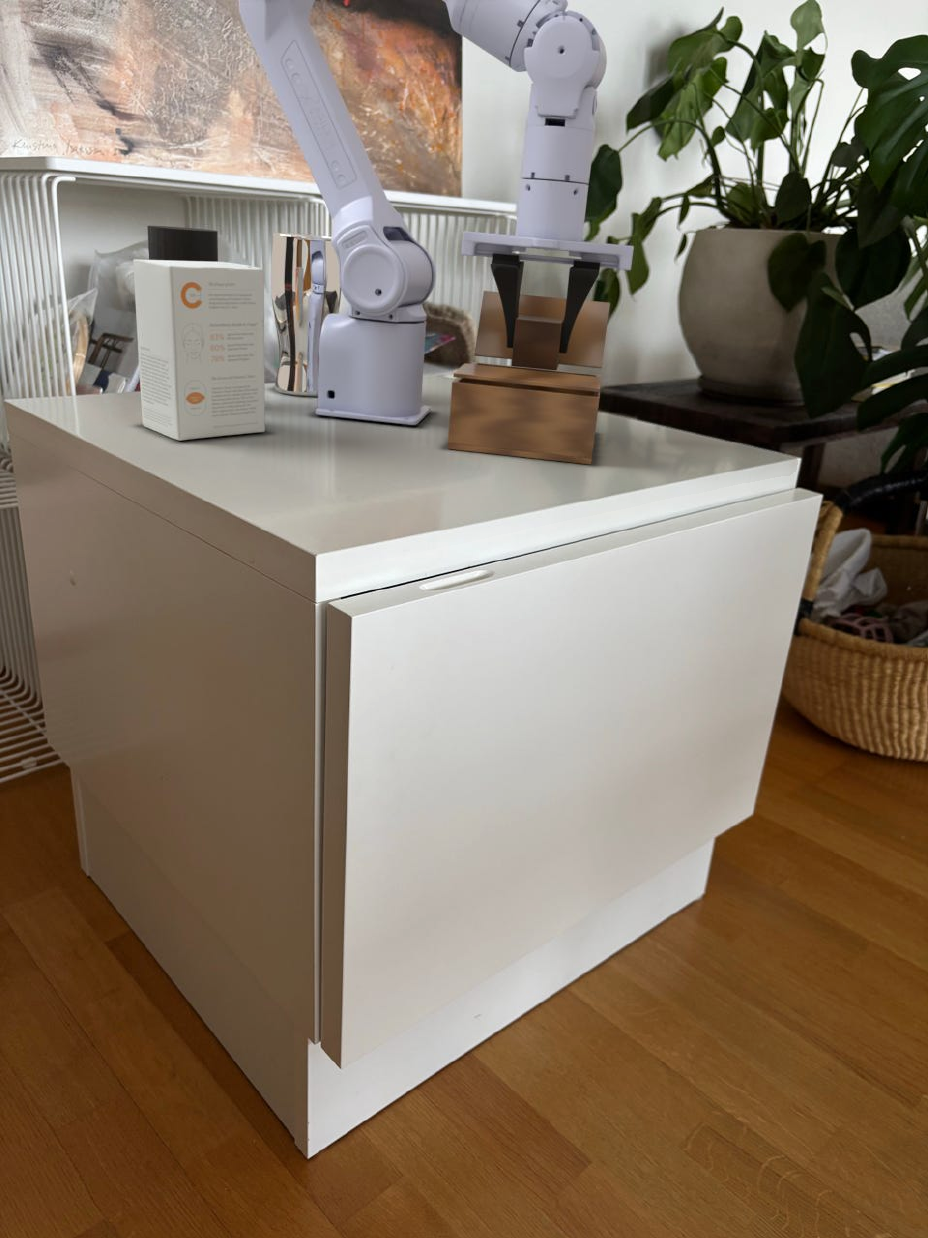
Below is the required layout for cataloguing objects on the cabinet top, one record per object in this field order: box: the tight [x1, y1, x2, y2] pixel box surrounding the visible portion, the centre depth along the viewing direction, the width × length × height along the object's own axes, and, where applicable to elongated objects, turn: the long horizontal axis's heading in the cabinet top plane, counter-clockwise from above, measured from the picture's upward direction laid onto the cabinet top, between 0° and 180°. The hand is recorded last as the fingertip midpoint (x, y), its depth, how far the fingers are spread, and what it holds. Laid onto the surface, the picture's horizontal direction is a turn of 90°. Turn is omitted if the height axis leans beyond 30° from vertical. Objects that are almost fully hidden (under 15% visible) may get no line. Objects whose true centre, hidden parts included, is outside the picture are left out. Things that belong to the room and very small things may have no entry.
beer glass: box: [270, 232, 342, 397], centre depth 97 cm, size 7×7×15 cm
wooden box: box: [447, 361, 602, 465], centre depth 85 cm, size 12×13×6 cm
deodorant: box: [146, 225, 219, 262], centre depth 88 cm, size 6×6×15 cm
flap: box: [474, 290, 611, 369], centre depth 90 cm, size 12×6×1 cm
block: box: [510, 315, 564, 371], centre depth 86 cm, size 4×4×4 cm
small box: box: [132, 258, 266, 442], centre depth 77 cm, size 8×6×13 cm
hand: (536, 349), depth 86 cm, fingers closed on block, 4 cm apart
